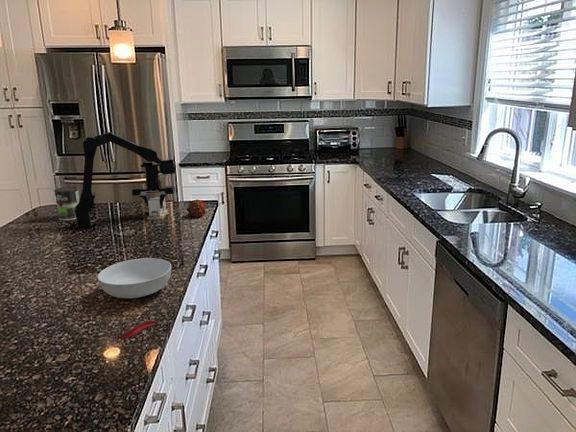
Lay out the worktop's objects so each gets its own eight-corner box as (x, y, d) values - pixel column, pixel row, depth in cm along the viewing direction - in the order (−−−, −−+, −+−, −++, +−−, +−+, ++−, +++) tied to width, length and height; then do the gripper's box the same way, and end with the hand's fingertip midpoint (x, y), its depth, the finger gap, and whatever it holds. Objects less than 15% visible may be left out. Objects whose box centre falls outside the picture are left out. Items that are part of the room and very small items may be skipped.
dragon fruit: (198, 222, 216) (194, 220, 227) (212, 210, 217) (207, 208, 229) (186, 209, 213) (182, 207, 224) (200, 196, 215) (195, 195, 226)
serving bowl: (147, 272, 155) (144, 253, 153) (187, 288, 142) (185, 266, 140) (86, 294, 139) (83, 273, 137) (126, 314, 126) (123, 290, 124)
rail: (162, 219, 217) (160, 204, 215) (147, 220, 216) (145, 205, 214) (168, 210, 232) (166, 197, 230) (153, 211, 232) (152, 197, 230)
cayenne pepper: (116, 343, 112) (115, 336, 112) (111, 335, 116) (110, 328, 116) (165, 328, 119) (164, 322, 118) (159, 321, 122) (158, 315, 122)
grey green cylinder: (71, 221, 219) (67, 191, 215) (53, 219, 222) (49, 190, 218) (86, 215, 228) (82, 187, 225) (69, 214, 231) (65, 186, 227)
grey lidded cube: (160, 215, 218) (158, 200, 216) (149, 215, 218) (147, 200, 216) (162, 211, 224) (161, 197, 222) (152, 212, 223) (150, 197, 222)
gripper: (175, 171, 224) (178, 203, 228) (135, 173, 223) (139, 205, 227) (171, 176, 213) (174, 209, 217) (129, 177, 212) (133, 211, 216)
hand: (155, 208), depth 220 cm, fingers closed on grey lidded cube, 5 cm apart
